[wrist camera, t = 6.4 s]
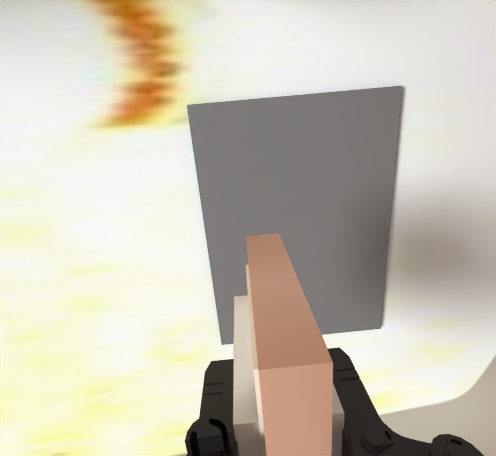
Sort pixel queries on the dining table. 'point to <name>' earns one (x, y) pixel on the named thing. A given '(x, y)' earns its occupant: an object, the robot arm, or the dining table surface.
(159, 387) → the dining table surface
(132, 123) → the dining table surface
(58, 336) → the dining table surface
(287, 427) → the terracotta tile
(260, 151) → the rubber mat
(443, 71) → the dining table surface
